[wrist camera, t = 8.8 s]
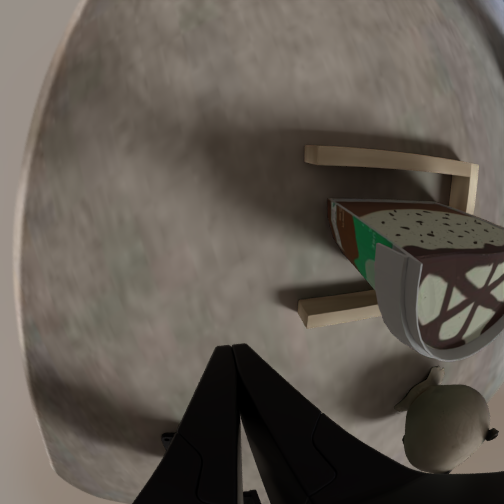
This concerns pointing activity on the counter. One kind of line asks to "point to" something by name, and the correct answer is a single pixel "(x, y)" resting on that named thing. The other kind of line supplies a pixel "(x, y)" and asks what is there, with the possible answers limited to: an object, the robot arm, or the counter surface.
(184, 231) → the counter surface
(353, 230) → the food container
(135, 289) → the counter surface
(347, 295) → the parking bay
